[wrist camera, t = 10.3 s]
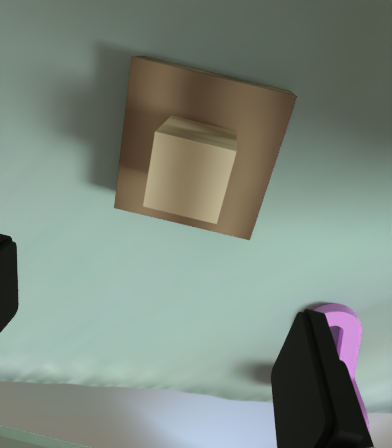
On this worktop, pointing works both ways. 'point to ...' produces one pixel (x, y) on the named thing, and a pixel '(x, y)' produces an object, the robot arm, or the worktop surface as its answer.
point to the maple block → (190, 168)
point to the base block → (209, 114)
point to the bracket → (346, 340)
